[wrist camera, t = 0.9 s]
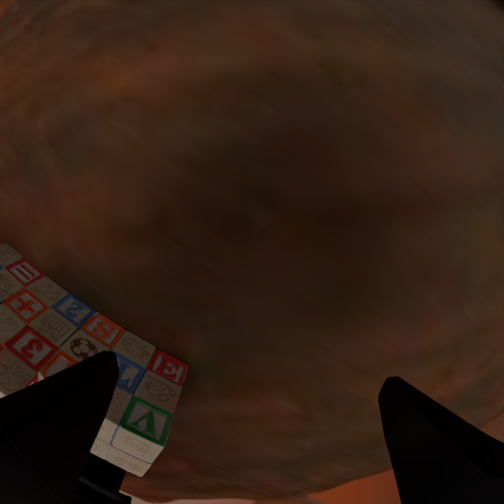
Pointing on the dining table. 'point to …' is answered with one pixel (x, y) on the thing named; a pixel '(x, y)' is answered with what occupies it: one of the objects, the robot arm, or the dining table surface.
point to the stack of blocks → (79, 348)
